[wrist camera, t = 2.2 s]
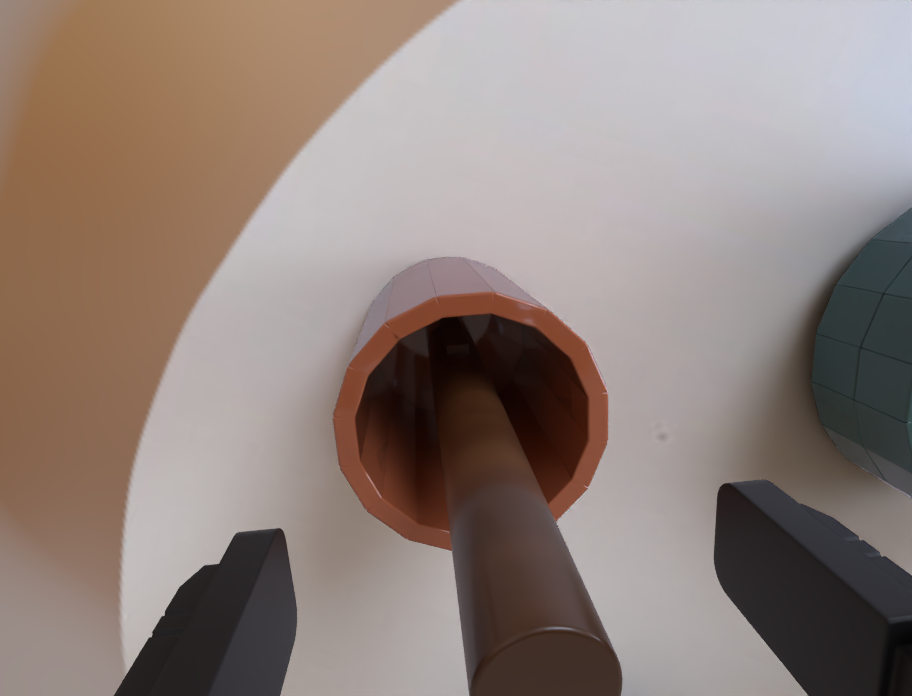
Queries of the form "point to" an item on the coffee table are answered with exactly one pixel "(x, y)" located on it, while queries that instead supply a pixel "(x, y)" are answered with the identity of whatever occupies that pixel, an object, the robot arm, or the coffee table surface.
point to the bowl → (870, 359)
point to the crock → (412, 401)
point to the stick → (509, 546)
